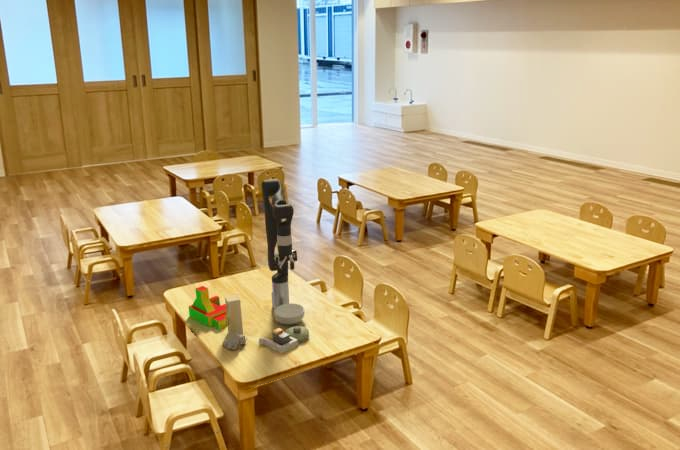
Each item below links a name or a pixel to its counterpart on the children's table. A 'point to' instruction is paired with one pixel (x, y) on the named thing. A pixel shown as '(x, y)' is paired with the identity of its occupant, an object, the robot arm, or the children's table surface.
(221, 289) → the children's table surface
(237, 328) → the toy refrigerator
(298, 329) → the grey bracket and lid
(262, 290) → the children's table surface
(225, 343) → the toy rhinoceros
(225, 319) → the building blocks toy
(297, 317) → the cereal bowl
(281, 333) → the orange-panel grey block
